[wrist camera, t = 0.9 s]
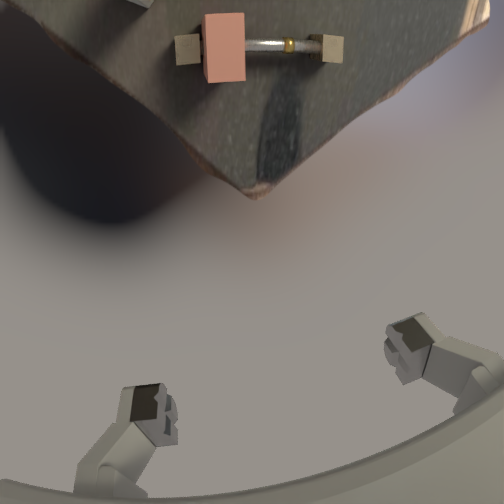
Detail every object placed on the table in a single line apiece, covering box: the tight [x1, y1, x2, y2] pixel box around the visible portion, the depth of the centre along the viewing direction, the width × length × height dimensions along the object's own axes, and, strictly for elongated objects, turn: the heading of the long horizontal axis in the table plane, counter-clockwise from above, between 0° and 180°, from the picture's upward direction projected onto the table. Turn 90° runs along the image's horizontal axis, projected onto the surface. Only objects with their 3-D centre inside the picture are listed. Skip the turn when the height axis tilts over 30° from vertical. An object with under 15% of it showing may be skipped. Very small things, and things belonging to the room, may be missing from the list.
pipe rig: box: [175, 34, 344, 65], centre depth 34 cm, size 22×4×5 cm, turn 91°
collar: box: [201, 13, 245, 83], centre depth 31 cm, size 4×8×10 cm, turn 1°
